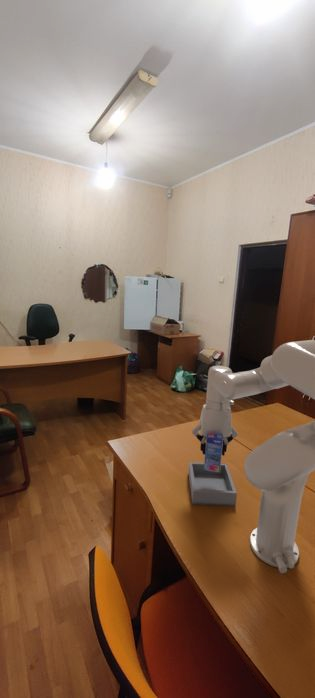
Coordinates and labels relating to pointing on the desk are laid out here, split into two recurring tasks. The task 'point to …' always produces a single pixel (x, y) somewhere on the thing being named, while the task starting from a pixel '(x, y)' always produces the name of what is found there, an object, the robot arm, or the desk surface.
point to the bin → (211, 486)
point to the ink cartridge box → (213, 452)
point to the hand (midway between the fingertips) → (212, 452)
